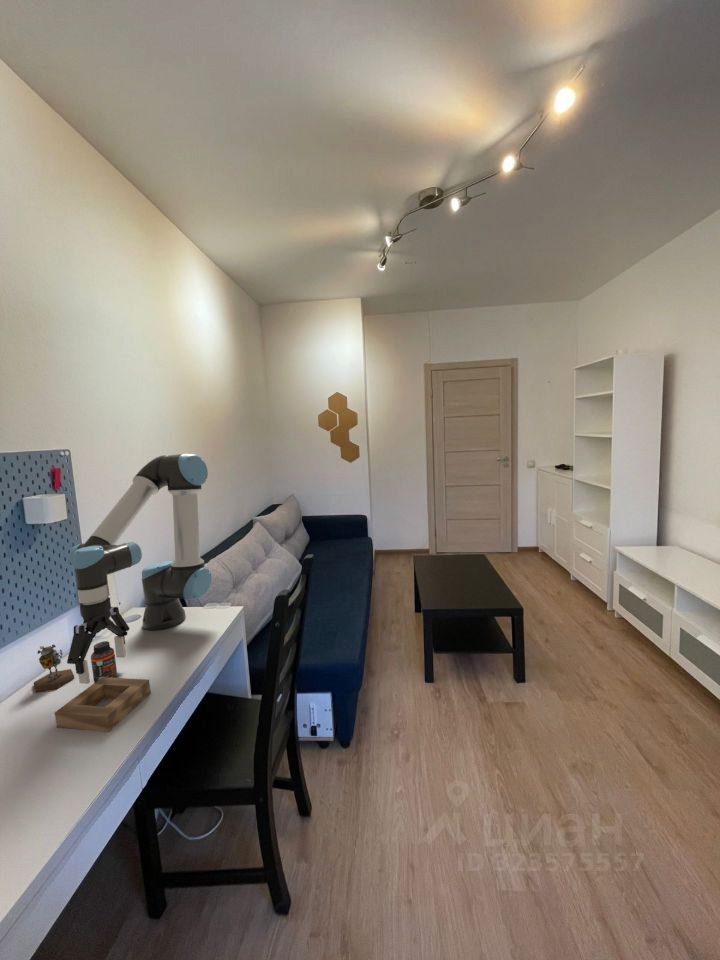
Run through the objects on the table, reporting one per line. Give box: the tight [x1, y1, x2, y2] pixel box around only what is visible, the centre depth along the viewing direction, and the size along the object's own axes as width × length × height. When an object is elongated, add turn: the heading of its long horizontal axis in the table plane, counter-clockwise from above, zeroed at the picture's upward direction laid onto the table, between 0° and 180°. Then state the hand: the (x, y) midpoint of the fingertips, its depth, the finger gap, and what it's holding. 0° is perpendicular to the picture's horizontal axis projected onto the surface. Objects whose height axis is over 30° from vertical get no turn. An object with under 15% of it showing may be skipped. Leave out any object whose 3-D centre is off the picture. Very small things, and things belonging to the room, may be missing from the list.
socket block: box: [54, 677, 152, 733], centre depth 109 cm, size 15×15×4 cm
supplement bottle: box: [90, 640, 118, 684], centre depth 122 cm, size 6×6×11 cm
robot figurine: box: [33, 644, 75, 694], centre depth 123 cm, size 11×9×12 cm
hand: (104, 669), depth 122 cm, fingers open, 13 cm apart
